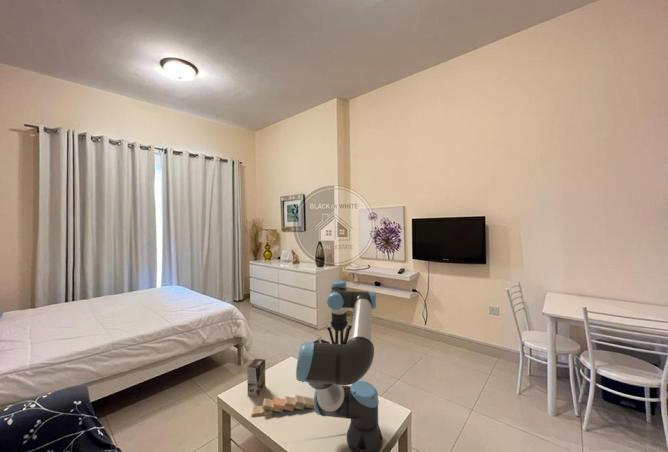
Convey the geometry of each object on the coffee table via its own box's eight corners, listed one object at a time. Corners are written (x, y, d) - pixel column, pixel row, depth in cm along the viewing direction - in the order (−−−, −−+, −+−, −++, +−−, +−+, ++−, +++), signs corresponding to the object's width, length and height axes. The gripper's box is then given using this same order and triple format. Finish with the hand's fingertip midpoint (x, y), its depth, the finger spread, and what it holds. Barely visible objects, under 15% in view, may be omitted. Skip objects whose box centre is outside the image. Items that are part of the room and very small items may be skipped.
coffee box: (258, 398, 141) (257, 368, 141) (247, 396, 143) (246, 366, 142) (266, 387, 150) (265, 359, 150) (255, 385, 152) (255, 358, 151)
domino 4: (304, 399, 137) (285, 396, 135) (304, 406, 132) (285, 402, 130) (303, 402, 136) (284, 399, 135) (303, 409, 132) (284, 405, 130)
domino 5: (314, 398, 137) (295, 394, 136) (315, 405, 132) (295, 401, 131) (313, 401, 137) (294, 397, 136) (314, 408, 132) (294, 404, 131)
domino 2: (283, 402, 135) (264, 398, 133) (283, 409, 130) (263, 405, 128) (282, 405, 135) (263, 401, 133) (282, 412, 130) (262, 408, 128)
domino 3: (293, 401, 136) (274, 397, 134) (294, 408, 131) (274, 403, 129) (292, 404, 136) (273, 400, 134) (292, 411, 131) (273, 407, 129)
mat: (318, 398, 140) (318, 397, 140) (321, 412, 130) (321, 411, 130) (272, 404, 136) (272, 403, 136) (271, 418, 126) (271, 417, 126)
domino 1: (273, 403, 134) (252, 407, 132) (272, 410, 129) (251, 414, 127) (273, 406, 134) (252, 410, 132) (272, 413, 129) (251, 417, 127)
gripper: (350, 308, 139) (350, 353, 140) (325, 310, 137) (325, 355, 137) (353, 313, 132) (353, 360, 132) (327, 315, 129) (327, 363, 130)
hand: (339, 358), depth 135 cm, fingers closed
